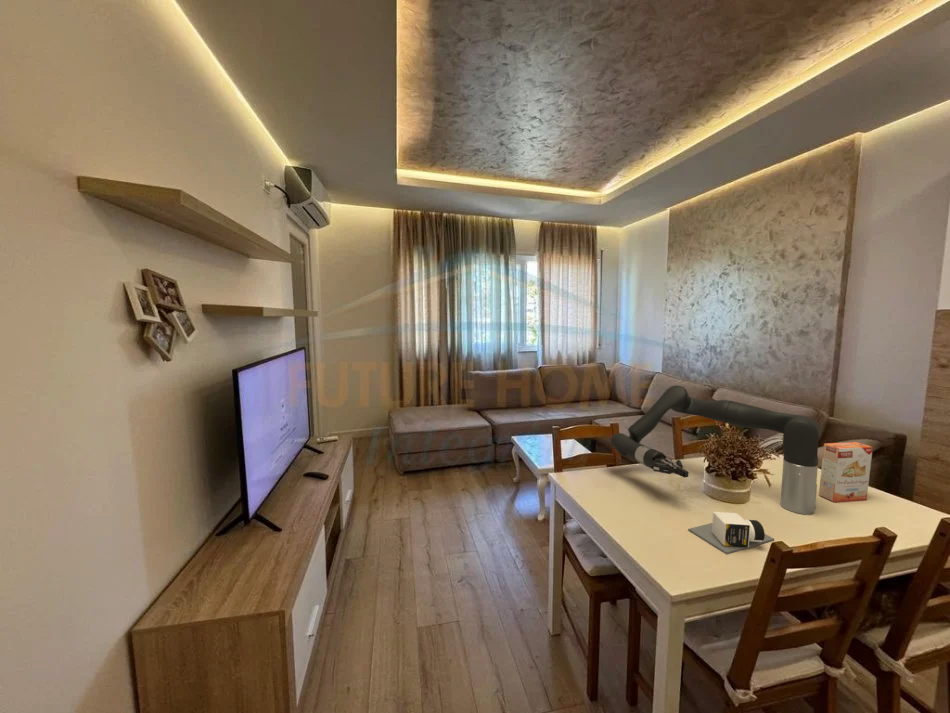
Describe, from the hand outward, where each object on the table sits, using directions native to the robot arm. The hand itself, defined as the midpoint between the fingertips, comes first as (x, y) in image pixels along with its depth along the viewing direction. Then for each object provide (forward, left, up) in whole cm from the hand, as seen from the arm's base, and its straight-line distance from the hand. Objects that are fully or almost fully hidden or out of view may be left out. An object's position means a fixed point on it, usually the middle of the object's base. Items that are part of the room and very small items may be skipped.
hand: (686, 474), depth 131 cm
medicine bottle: (+7, +17, -9) cm, 21 cm away
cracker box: (-62, +14, -13) cm, 65 cm away
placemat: (0, +17, -13) cm, 21 cm away
